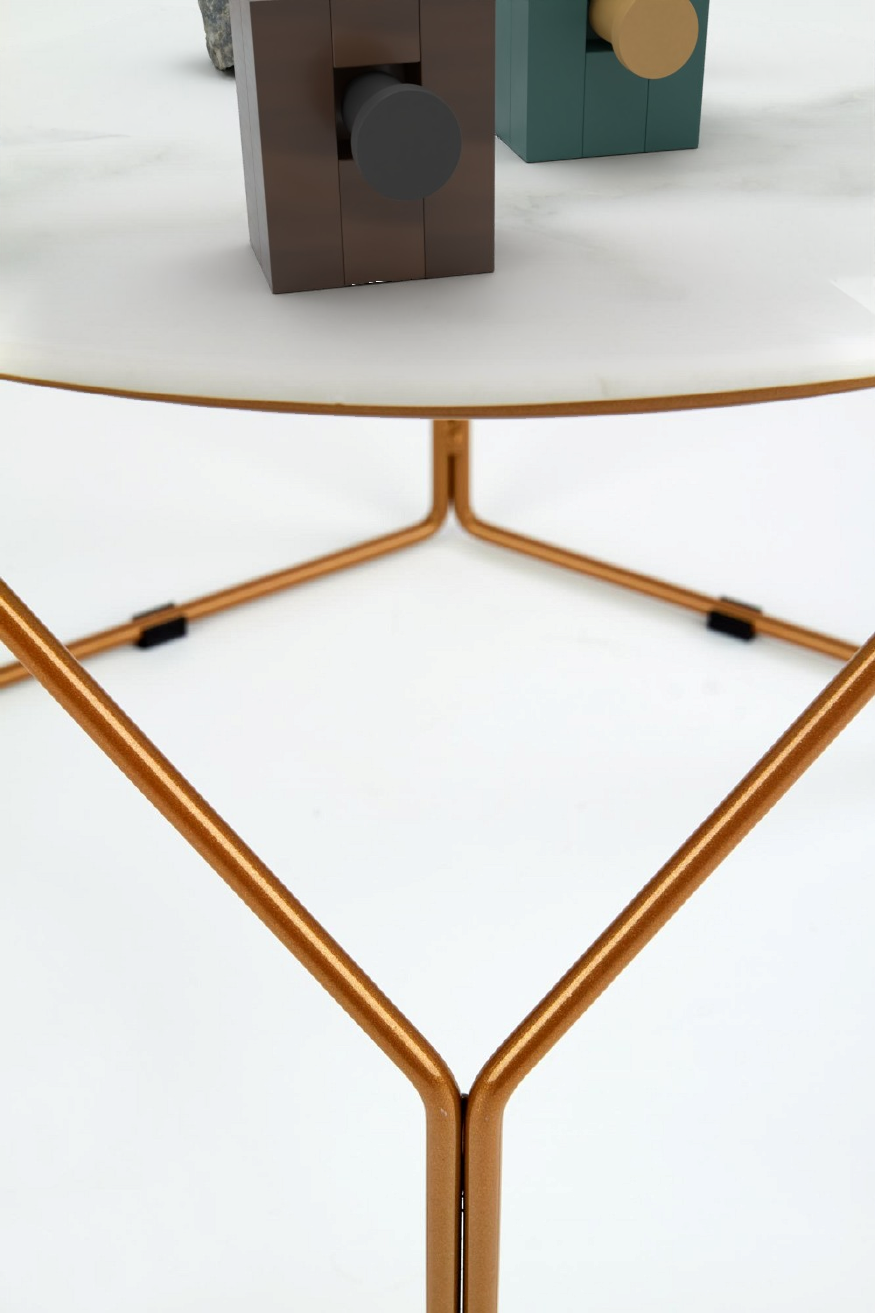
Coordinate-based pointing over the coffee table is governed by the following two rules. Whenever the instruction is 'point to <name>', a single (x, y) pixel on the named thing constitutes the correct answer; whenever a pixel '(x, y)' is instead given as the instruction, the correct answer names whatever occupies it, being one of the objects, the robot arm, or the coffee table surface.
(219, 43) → the rock
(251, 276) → the coffee table surface
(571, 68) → the block
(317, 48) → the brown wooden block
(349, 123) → the knob
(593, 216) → the coffee table surface
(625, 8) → the knob
